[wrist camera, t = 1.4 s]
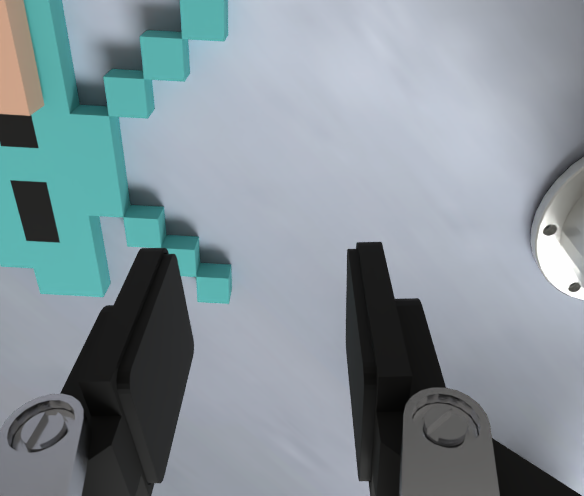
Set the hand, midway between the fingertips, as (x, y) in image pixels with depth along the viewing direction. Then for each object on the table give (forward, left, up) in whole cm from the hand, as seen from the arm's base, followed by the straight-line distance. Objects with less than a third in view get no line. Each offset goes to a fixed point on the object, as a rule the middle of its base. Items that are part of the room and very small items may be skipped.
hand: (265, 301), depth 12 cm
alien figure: (+14, +5, -22) cm, 27 cm away
